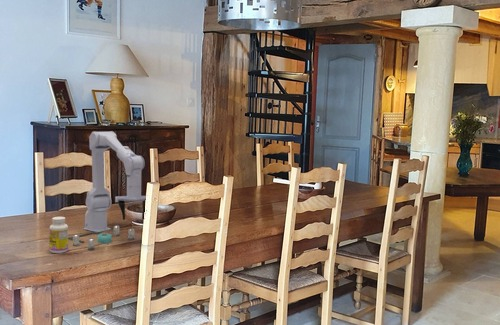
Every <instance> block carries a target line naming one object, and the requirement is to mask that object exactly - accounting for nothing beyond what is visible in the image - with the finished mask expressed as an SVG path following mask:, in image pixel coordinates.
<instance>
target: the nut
mask: <svg viewBox="0 0 500 325" xmlns="http://www.w3.org/2000/svg"><path fill="white" fill-rule="evenodd" d="M96 235H97V234H96ZM112 236H113V235H112V234H111V233H105V232H104V233H103V232H102V234H98V235H97V238H96V241H97V242H98V244H100V245H102V244H103V245H105V244H106V245H107V244H111V243H112V241H113V240H112V238H113V237H112ZM97 242H96V243H97Z"/></svg>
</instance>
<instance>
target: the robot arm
mask: <svg viewBox="0 0 500 325" xmlns="http://www.w3.org/2000/svg"><path fill="white" fill-rule="evenodd" d="M117 137H118V136H117V134H116V133H115V132H114V131H113V130H111V131H92V132H91V133H90V135H89V137H88V139H89V151H91V171H92V172H91V174H92V175H91V176H92V188H91V189H89V191H87V192H86V198H85V206H86V208H87V210H86V212H85V213H84V227H83V230H85V231H90V232H98V233H101V232H105V231H109V230H112V228H111V227H108V210H109V208H110V207H111V206H112V197H111V192H110V191H109V190H108V189H107V188H106V185H105V183H106V182H105V179H106V178H105V152H106V151H107V150H109V149H112V150H113V151H115V153H116V157H117V158H118V159H119V160H120V161H121V162H122V163H123V167H124V170H125V175H126V195H121V196H120V195H119V196H115V197H114V199H115V203H117V204H118V205H119V208H120V211H121V215H122V220H123V221H125V220H126V215H125V214H126V213H125V211H126V202H128V203H129V202H142V211H141V218H142V220H145V218H144V212H145V200H146V196H147V195H142V170H143V169H144V168H145V159H144V157H143V156H142V155H137V154H135V153H134V152H133V150H131V149H130V147H129V146H125V145H124V146H123V144H122V143H121V142H120V140H118V138H117Z"/></svg>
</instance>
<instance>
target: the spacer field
mask: <svg viewBox="0 0 500 325" xmlns="http://www.w3.org/2000/svg"><path fill="white" fill-rule="evenodd" d="M112 231H113V235H112V236H114V237H119V236H120V225H117V224H116V225H113V230H112ZM127 233H128V235H127V237H128V240H135V228H128V232H127ZM79 235H80V234H73V235H72V237H73V240H72V246H73V247H79V246H80V242H79V240H80V237H79ZM118 235H119V236H118ZM95 240H96V239H95V238H93V237H92V238H88V239H87V250H89V251H93V250H95Z"/></svg>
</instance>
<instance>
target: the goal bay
mask: <svg viewBox="0 0 500 325" xmlns="http://www.w3.org/2000/svg"><path fill="white" fill-rule="evenodd" d="M93 234H94V235H98V234H103V232H102V233H101V232H94V231H90V232H86V233H83V234H78V235H79V238H81V237H85V236H89V235H90V236H91V235H93ZM69 240H70V241H73V236H68V241H69ZM84 243H85V241H84V240H81V239H79V244H84Z"/></svg>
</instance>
